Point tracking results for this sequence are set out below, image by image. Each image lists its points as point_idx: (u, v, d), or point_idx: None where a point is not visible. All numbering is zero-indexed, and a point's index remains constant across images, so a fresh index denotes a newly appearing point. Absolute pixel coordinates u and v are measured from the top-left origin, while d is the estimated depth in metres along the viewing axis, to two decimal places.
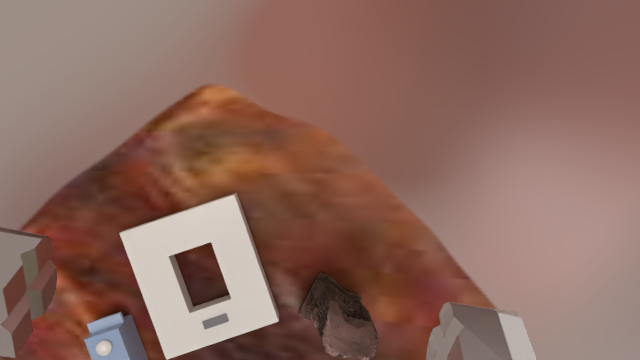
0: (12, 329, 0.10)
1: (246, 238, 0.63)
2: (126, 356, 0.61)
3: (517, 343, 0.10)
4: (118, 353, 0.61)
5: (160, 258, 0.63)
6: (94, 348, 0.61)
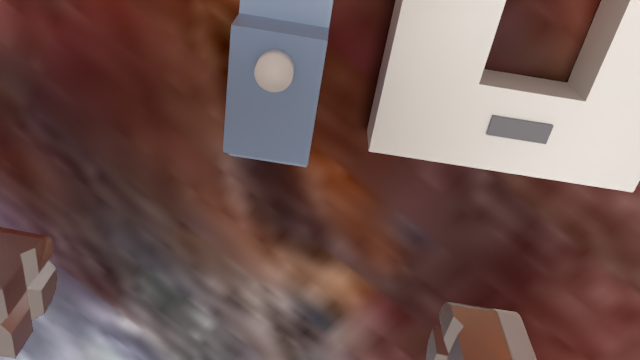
0: (12, 329, 0.10)
1: None
2: (310, 114, 0.24)
3: (517, 343, 0.10)
4: (296, 99, 0.24)
5: None
6: (246, 59, 0.23)
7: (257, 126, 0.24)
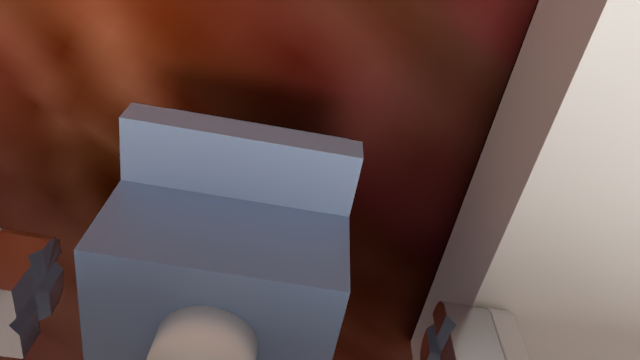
0: (20, 330, 0.10)
1: None
2: None
3: (510, 342, 0.10)
4: None
5: None
6: (127, 323, 0.08)
7: None
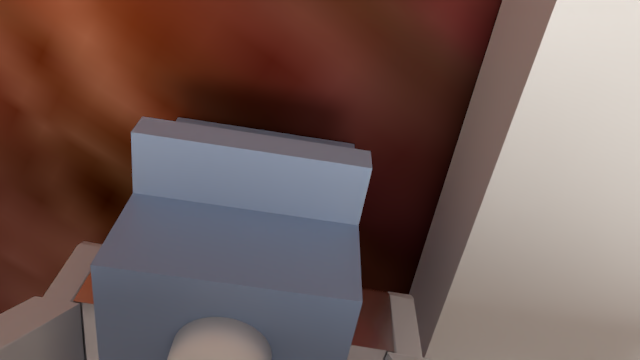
0: None
1: None
2: None
3: (403, 324, 0.10)
4: None
5: None
6: (142, 334, 0.09)
7: None
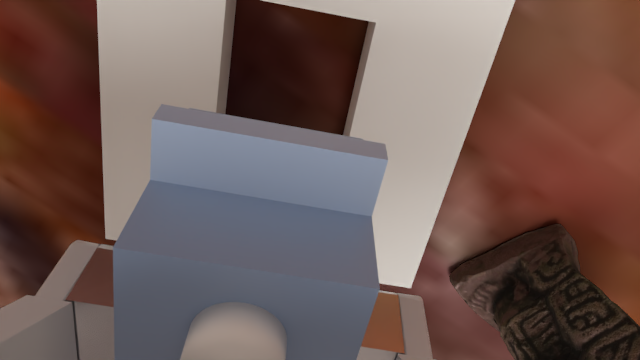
0: None
1: (478, 70, 0.19)
2: None
3: (412, 326, 0.10)
4: None
5: None
6: (160, 319, 0.09)
7: None
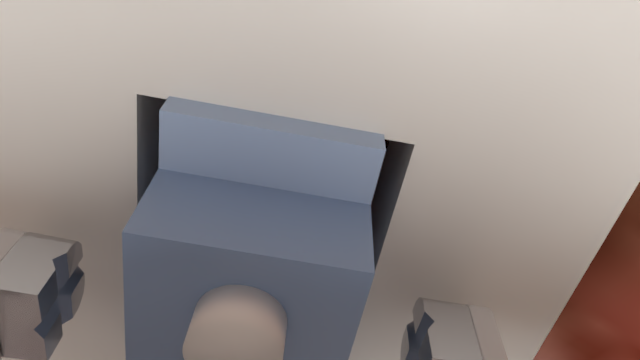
0: (44, 334, 0.10)
1: (594, 221, 0.11)
2: None
3: (487, 338, 0.10)
4: None
5: (82, 80, 0.10)
6: (167, 300, 0.09)
7: None
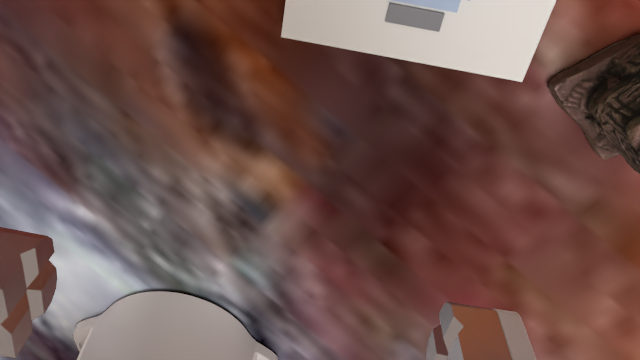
0: (12, 329, 0.10)
1: None
2: None
3: (517, 343, 0.10)
4: None
5: None
6: None
7: None
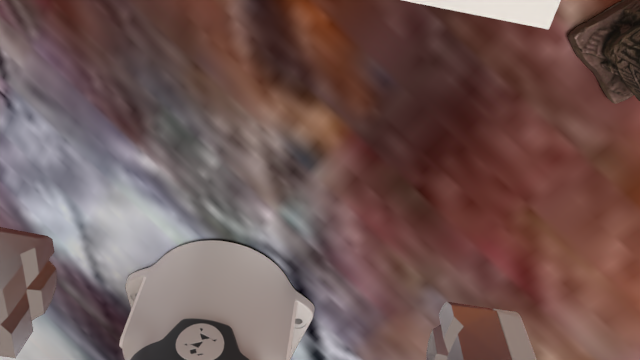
0: (12, 329, 0.10)
1: None
2: None
3: (517, 343, 0.10)
4: None
5: None
6: None
7: None
